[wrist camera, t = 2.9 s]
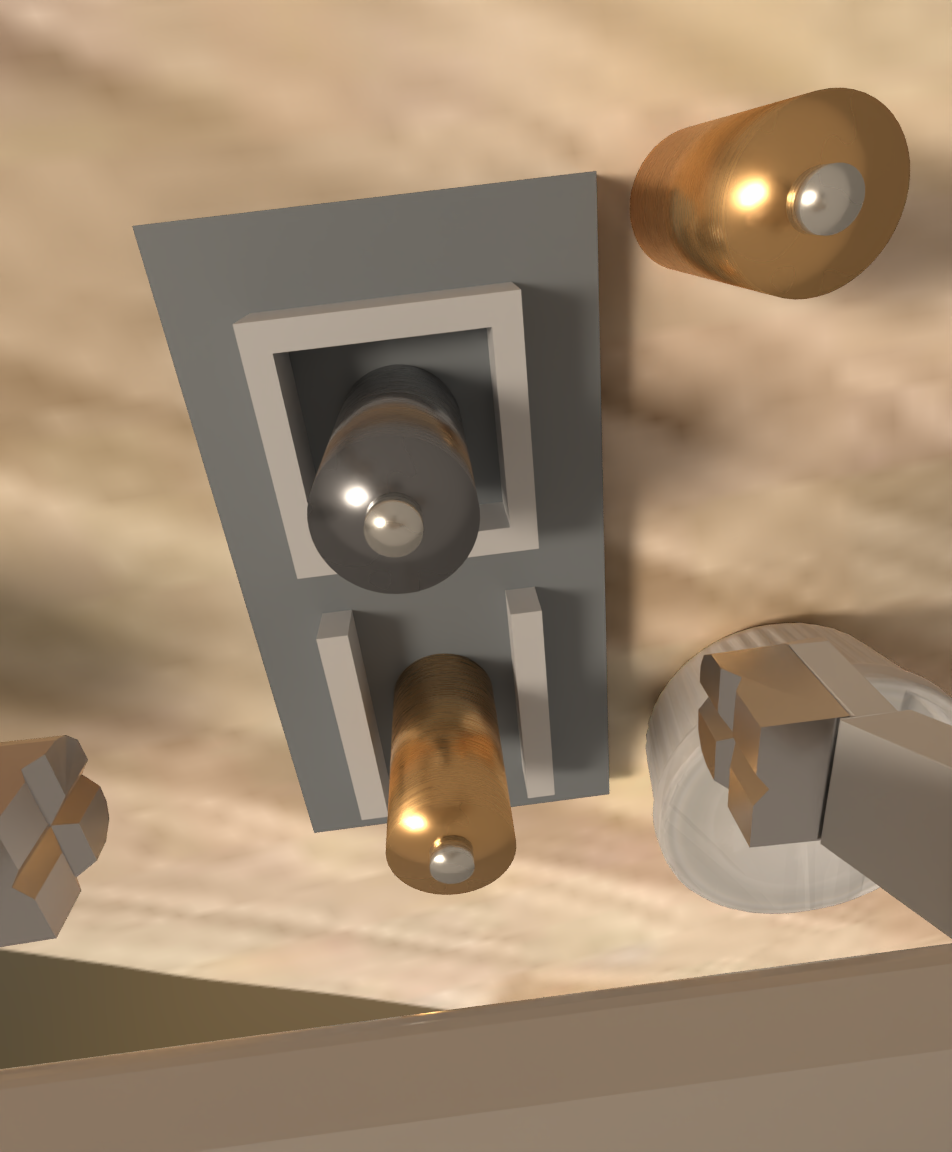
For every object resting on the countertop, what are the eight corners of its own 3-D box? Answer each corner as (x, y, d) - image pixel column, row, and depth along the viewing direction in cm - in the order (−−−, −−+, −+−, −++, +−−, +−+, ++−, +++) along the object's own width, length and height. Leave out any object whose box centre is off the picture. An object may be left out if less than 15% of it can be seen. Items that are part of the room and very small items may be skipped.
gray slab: (147, 224, 19) (100, 228, 16) (586, 172, 19) (615, 167, 16) (318, 810, 29) (307, 874, 27) (602, 772, 30) (621, 833, 27)
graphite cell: (328, 372, 20) (284, 456, 13) (454, 356, 20) (472, 433, 13) (352, 490, 22) (323, 617, 15) (468, 475, 22) (490, 596, 15)
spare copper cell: (386, 660, 25) (374, 830, 18) (487, 647, 25) (513, 811, 18) (401, 739, 26) (396, 920, 20) (497, 726, 27) (523, 903, 20)
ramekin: (933, 724, 30) (1028, 820, 25) (705, 849, 32) (752, 957, 28) (825, 538, 25) (916, 613, 21) (569, 702, 28) (599, 801, 23)
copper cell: (629, 133, 19) (744, 95, 12) (761, 118, 19) (948, 71, 12) (629, 277, 21) (730, 313, 14) (751, 263, 21) (910, 291, 14)
